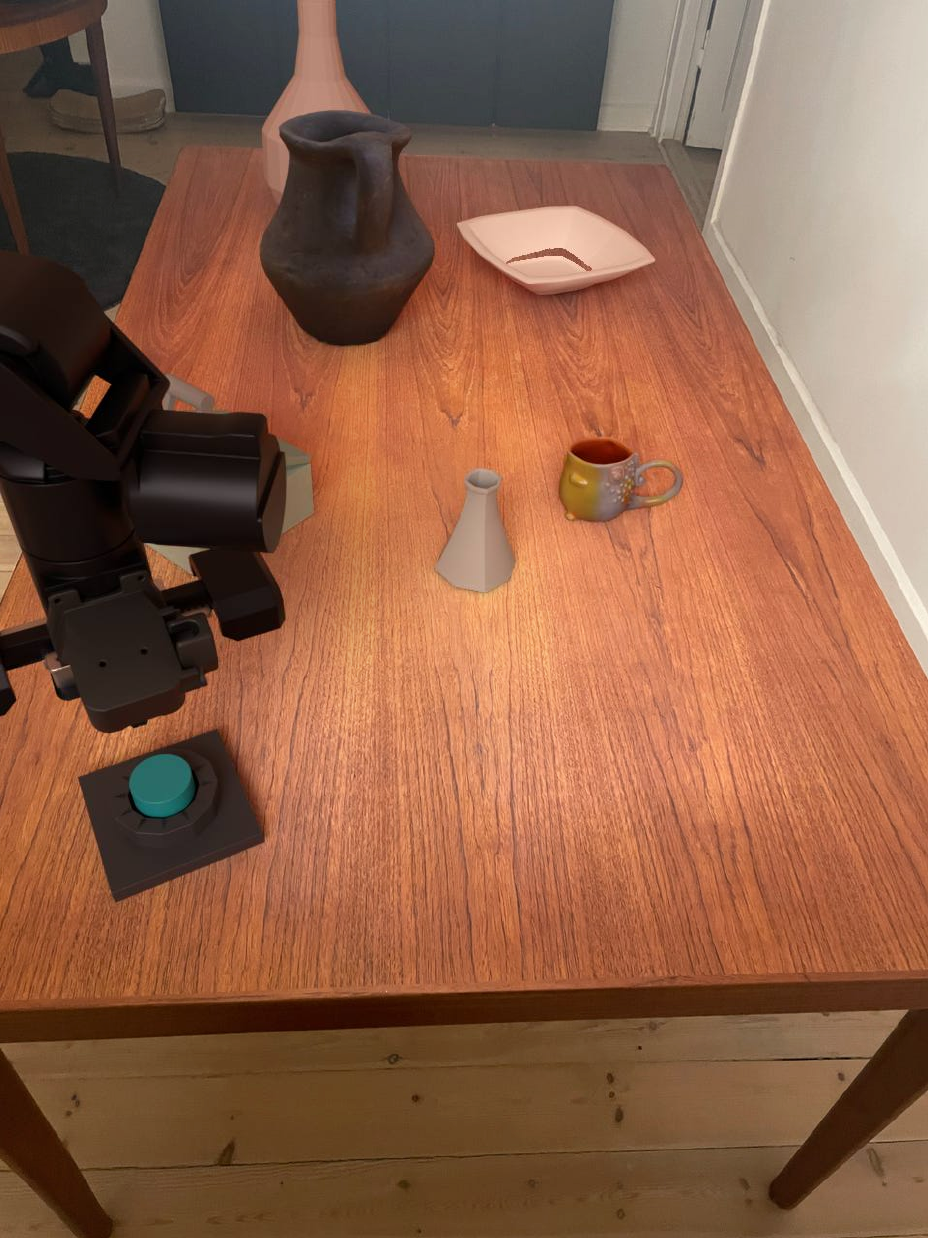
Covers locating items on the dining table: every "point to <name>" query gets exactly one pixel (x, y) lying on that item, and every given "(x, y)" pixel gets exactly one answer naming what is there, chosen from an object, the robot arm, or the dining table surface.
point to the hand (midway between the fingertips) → (138, 721)
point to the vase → (308, 86)
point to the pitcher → (345, 227)
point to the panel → (169, 819)
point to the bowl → (552, 229)
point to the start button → (162, 785)
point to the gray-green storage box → (295, 512)
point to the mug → (607, 480)
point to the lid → (218, 412)
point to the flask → (478, 538)
